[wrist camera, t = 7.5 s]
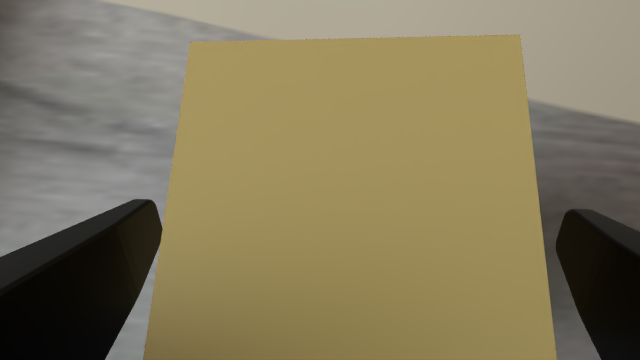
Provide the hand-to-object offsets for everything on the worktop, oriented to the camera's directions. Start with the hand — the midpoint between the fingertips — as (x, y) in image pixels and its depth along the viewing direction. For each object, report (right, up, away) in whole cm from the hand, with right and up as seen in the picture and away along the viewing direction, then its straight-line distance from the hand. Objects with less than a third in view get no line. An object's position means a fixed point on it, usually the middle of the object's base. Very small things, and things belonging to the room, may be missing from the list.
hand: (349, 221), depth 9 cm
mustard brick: (+1, -3, +8) cm, 8 cm away
